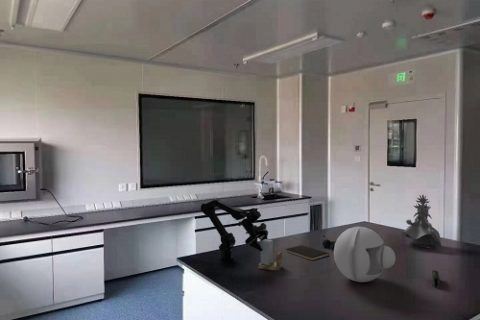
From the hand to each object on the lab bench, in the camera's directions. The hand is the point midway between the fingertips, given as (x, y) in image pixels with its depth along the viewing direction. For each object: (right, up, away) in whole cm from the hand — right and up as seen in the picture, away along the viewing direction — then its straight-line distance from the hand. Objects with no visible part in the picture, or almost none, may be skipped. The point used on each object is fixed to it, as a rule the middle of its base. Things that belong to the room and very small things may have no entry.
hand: (265, 248), depth 206 cm
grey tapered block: (+1, -8, 0) cm, 8 cm away
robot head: (+49, -11, -23) cm, 55 cm away
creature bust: (+110, -8, +38) cm, 117 cm away
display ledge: (+3, -10, -1) cm, 11 cm away
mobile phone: (+83, -11, -27) cm, 88 cm away
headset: (+50, -9, +36) cm, 62 cm away
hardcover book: (+28, -10, +25) cm, 39 cm away
